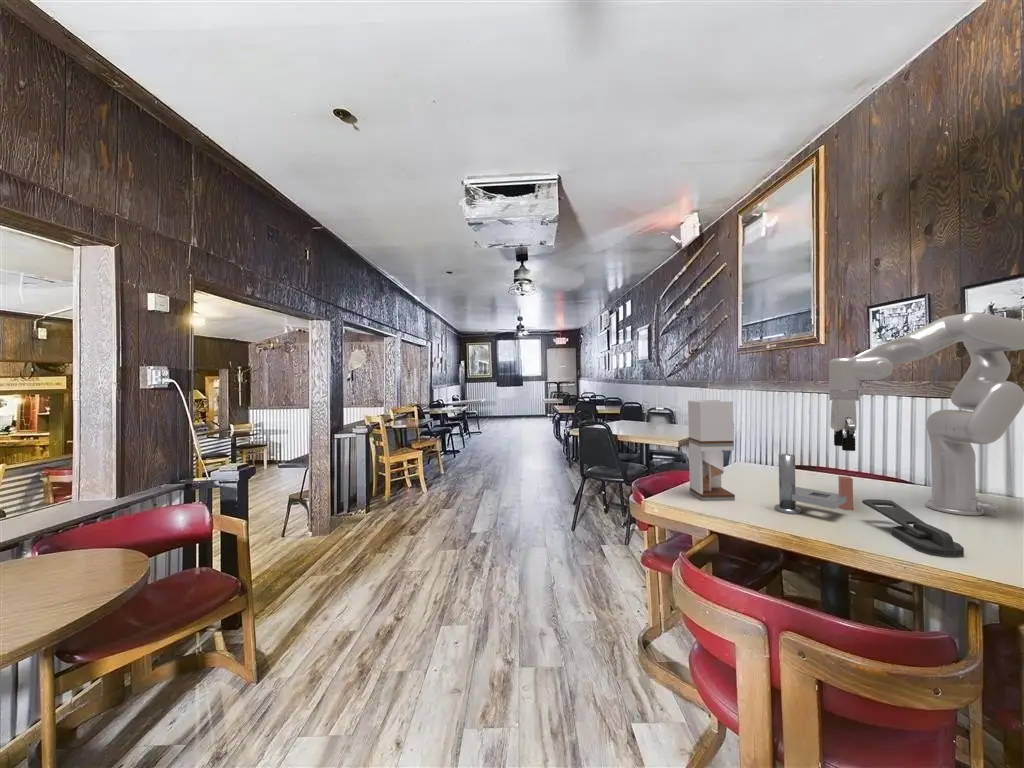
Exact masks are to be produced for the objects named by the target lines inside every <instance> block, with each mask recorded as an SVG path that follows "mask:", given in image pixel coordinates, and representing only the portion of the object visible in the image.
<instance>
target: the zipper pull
mask: <svg viewBox="0 0 1024 768" xmlns="http://www.w3.org/2000/svg"><path fill="white" fill-rule="evenodd" d="M861 501H862V502H861V503H862V504H864V505H866V506H867V507H869V508H870V509H872V510H874V511H876V512H878V513H879V514H880V515H882V516H884V517H886V518H888V519H889V520H891V521H893V522H895V523H896V524H898V525H896V526H892V527H891V536H892V537H894V538H895V539H896V540H898V541H900V542H902V543H904V544H905V545H906V546H909V547H910V548H911V549H913V550H915V551H917V552H920V553H923V554H926V555H929V556H934V557H940V558H962V557H965V552H964V551H965V548H964V546H963V545H961V544H960V543H958V542H956V541H954V539H953V536H952V535H951V534H950V533H949V532H947V531H945V530H942V529H940V528H938V527H936V526H933V525H931V524H928V523H926V522H924V521H923V520H922V519H920V518H919V517H917V516H915V515H914V514H913V513H911V512H910V511H908V510H907V509H906V508H903V507H902V506H901V505H900V504H897V502H894V501H892V500H888V499H877V498H875V499H872V498H869V499H868V498H867V499H862V500H861Z"/></svg>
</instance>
